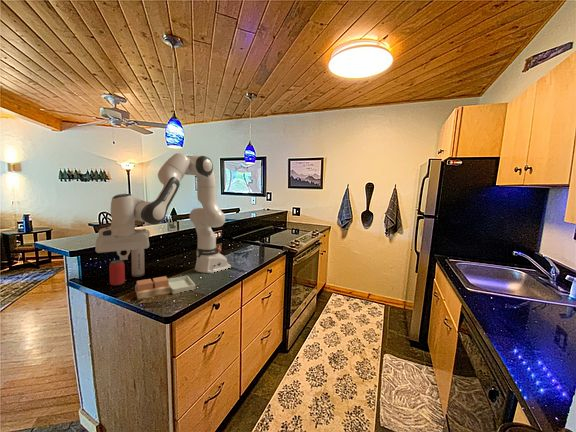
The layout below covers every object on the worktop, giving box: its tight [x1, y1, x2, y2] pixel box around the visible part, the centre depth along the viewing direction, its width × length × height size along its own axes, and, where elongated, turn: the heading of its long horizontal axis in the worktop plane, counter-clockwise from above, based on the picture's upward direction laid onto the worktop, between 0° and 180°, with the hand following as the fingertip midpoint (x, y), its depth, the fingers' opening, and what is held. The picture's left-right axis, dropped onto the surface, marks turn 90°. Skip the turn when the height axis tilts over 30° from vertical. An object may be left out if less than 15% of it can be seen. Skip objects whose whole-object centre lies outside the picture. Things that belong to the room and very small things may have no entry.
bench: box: [134, 284, 172, 301], centre depth 120 cm, size 14×11×3 cm
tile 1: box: [136, 278, 153, 291], centre depth 117 cm, size 6×6×3 cm
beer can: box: [108, 259, 126, 286], centre depth 127 cm, size 7×7×12 cm
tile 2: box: [152, 275, 169, 288], centre depth 122 cm, size 6×6×3 cm
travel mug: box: [130, 249, 145, 278], centre depth 139 cm, size 6×7×20 cm
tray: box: [168, 275, 197, 295], centre depth 128 cm, size 11×15×2 cm
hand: (123, 259), depth 111 cm, fingers closed
